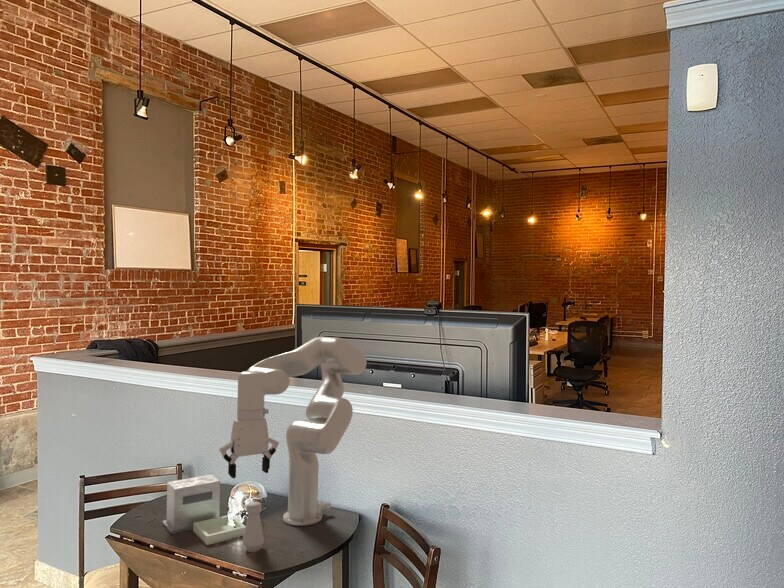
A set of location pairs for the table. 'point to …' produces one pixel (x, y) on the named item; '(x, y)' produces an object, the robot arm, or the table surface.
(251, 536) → the salt shaker
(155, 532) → the table surface
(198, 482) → the unit
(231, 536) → the tray
